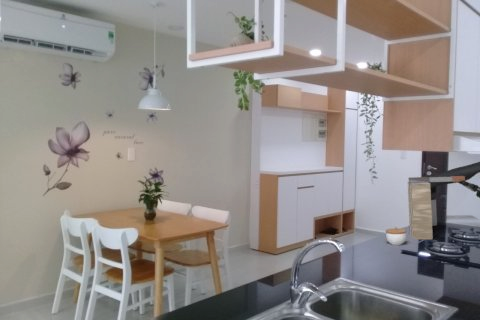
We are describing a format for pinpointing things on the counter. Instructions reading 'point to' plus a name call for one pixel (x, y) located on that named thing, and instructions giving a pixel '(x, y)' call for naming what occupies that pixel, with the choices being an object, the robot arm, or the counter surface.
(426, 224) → the birch stand
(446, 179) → the breaker handle
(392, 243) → the lidded jar
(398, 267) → the counter surface
